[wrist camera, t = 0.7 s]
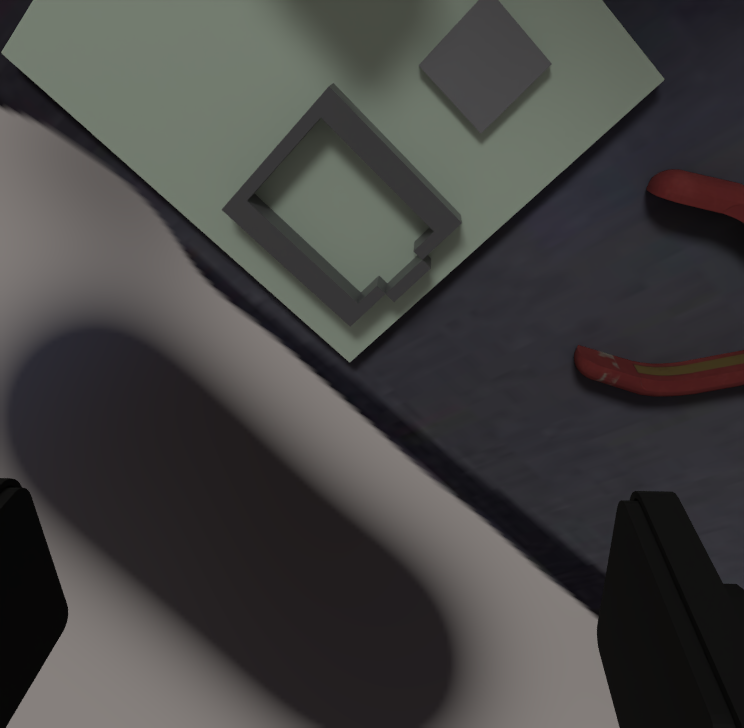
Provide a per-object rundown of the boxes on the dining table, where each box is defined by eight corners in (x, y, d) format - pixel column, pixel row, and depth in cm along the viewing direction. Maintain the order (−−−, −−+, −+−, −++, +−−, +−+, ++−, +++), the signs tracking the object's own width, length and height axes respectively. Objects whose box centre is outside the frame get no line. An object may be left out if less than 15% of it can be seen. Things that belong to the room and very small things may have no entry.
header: (333, 83, 30) (328, 86, 29) (469, 223, 33) (470, 232, 31) (229, 201, 33) (221, 209, 32) (361, 322, 35) (358, 334, 34)
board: (287, -391, 24) (277, -416, 23) (658, 77, 30) (669, 80, 28) (13, 51, 32) (-7, 53, 30) (351, 354, 38) (348, 367, 36)
